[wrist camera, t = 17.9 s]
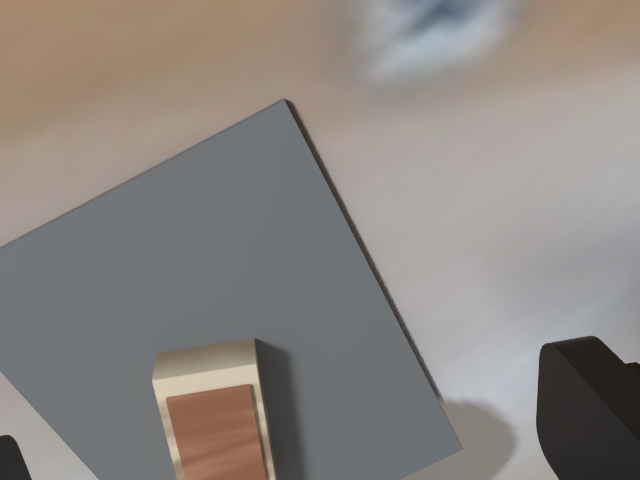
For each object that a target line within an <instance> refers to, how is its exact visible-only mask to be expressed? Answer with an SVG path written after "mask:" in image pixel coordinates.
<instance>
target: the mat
mask: <svg viewBox="0 0 640 480" xmlns="http://www.w3.org/2000/svg"><path fill="white" fill-rule="evenodd" d="M249 338H254V339H255V345H256V351H257V357H258V364H259V370H260V376H261V382H262V388H263V394H264V400H265V406H266V412H267V418H268V424H269V430H270V436H271V442H272V449H273V455H274V461H275V467H276V473H277V480H399V479H401V478H403V477H405V476H408V475H410V474H412V473H414V472H416V471H418V470H420V469H422V468H424V467H427V466H429V465H431V464H432V463H435V462H437V461H439V460H441V459H443V458H445V457H448V456H449V455H452V454H454V453H456V452H458V451H460V450H462V449H463V448H462V446H461V444H460V442H459V440H458V438H457V436H456V434H455V432H454V430H453V428H452V426H451V424H450V423H449V420H448V418H447V417H446V415H445V413H444V411H443V409H442V407H441V405H440V403H439V401H438V399H437V397H436V395H435V393H434V391H433V389H432V387H431V385H430V383H429V381H428V379H427V377H426V375H425V374H424V372H423V370H422V368H421V366H420V364H419V362H418V360H417V358H416V356H415V354H414V352H413V350H412V348H411V346H410V344H409V342H408V340H407V338H406V336H405V334H404V332H403V330H402V329H401V327H400V325H399V323H398V321H397V319H396V317H395V315H394V313H393V311H392V309H391V307H390V305H389V303H388V301H387V299H386V297H385V295H384V293H383V291H382V289H381V287H380V286H379V284H378V282H377V280H376V278H375V276H374V274H373V272H372V270H371V268H370V266H369V264H368V262H367V260H366V258H365V256H364V254H363V252H362V250H361V248H360V246H359V244H358V242H357V241H356V239H355V237H354V235H353V233H352V231H351V229H350V227H349V225H348V223H347V221H346V219H345V217H344V215H343V213H342V211H341V209H340V207H339V205H338V203H337V201H336V199H335V198H334V196H333V194H332V192H331V190H330V188H329V186H328V184H327V182H326V180H325V178H324V176H323V174H322V172H321V170H320V168H319V166H318V164H317V162H316V160H315V158H314V156H313V155H312V153H311V151H310V149H309V147H308V145H307V143H306V141H305V139H304V137H303V135H302V133H301V131H300V129H299V127H298V125H297V123H296V121H295V119H294V117H293V115H292V113H291V111H290V110H289V108H288V106H287V104H286V102H285V100H284V99H282V100H280V101H278V102H276V103H275V104H273V105H271V106H269V107H267V108H265V109H263V110H261V111H259V112H257V113H255V114H254V115H252V116H250V117H248V118H246V119H244V120H242V121H240V122H238V123H236V124H235V125H233V126H231V127H229V128H227V129H225V130H223V131H221V132H219V133H217V134H215V135H214V136H212V137H210V138H208V139H206V140H204V141H202V142H200V143H198V144H196V145H195V146H193V147H191V148H189V149H187V150H185V151H183V152H181V153H179V154H177V155H175V156H174V157H172V158H170V159H168V160H166V161H164V162H162V163H160V164H158V165H156V166H155V167H153V168H151V169H149V170H147V171H145V172H143V173H141V174H139V175H137V176H135V177H134V178H132V179H130V180H128V181H126V182H124V183H122V184H120V185H118V186H116V187H115V188H113V189H111V190H109V191H107V192H105V193H103V194H101V195H99V196H97V197H95V198H94V199H92V200H90V201H88V202H86V203H84V204H82V205H80V206H78V207H76V208H75V209H73V210H71V211H69V212H67V213H65V214H63V215H61V216H59V217H57V218H55V219H54V220H52V221H50V222H48V223H46V224H44V225H42V226H40V227H38V228H36V229H35V230H33V231H31V232H29V233H27V234H25V235H23V236H21V237H19V238H17V239H15V240H14V241H12V242H10V243H8V244H6V245H4V246H2V247H0V372H1V373H2V374H3V375H4V376H5V377H6V378H7V379H8V380H9V381H10V382H11V384H12V385H13V386H14V387H15V388H16V389H17V390H18V391H19V392H20V393H21V395H22V396H23V397H24V398H25V399H26V400H27V401H28V402H29V403H30V404H31V406H32V407H33V408H34V409H35V410H36V411H37V412H38V413H39V414H40V415H41V416H42V418H43V419H44V420H45V421H46V422H47V423H48V424H49V425H50V426H51V427H52V429H53V430H54V431H55V432H56V433H57V434H58V435H59V436H60V437H61V438H62V440H63V441H64V442H65V443H66V444H67V445H68V446H69V447H70V448H71V449H72V450H73V452H74V453H75V454H76V455H77V456H78V457H79V458H80V459H81V460H82V461H83V463H84V464H85V465H86V466H87V467H88V468H89V469H90V470H91V471H92V472H93V474H94V475H95V476H96V477H97V478H98V479H99V480H177V478H176V474H175V470H174V466H173V462H172V458H171V454H170V450H169V446H168V442H167V438H166V434H165V430H164V426H163V422H162V419H161V415H160V411H159V407H158V403H157V399H156V395H155V391H154V387H153V383H152V377H153V372H154V367H155V361H156V356H157V353H160V352H167V351H173V350H179V349H186V348H192V347H198V346H205V345H211V344H218V343H224V342H230V341H237V340H243V339H249Z"/></svg>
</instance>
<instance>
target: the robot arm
mask: <svg viewBox="0 0 640 480" xmlns="http://www.w3.org/2000/svg"><path fill="white" fill-rule="evenodd" d="M536 426H537V434H538V438H539V442H540V445H541V448H542V451H543V453H544V456H545V458H546V460H547V461H548V463H549V465H550V466H551V468H552V469H553V471H554V472H555V474H556V475H557V477H558V478H559V480H640V364H638V363H636V362H634V363H628V364H625V363H624V362H623V361H622V360H621V359H620V358H619V357H618V356H617V355H616V354H615V353H613V352H612V351H611V350H610V349H609V348H608V347H607V346H606V345H605V344H604V343H603V342H602V341H601V340H600V339H599V338H597V337H595V336H587V337H581V338H575V339H569V340H564V341H558V342H552V343H546V344H544V345H543V346H542V348H541V351H540V357H539V376H538V395H537V415H536ZM0 480H32V479H31V477H30V474H29V472H28V469H27V466H26V464H25V461H24V459H23V456H22V454H21V451H20V449H19V446H18V444H17V442H16V441H15V439H14V438H13V437H11V436H10V435H3V436H0Z"/></svg>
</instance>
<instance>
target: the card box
mask: <svg viewBox="0 0 640 480" xmlns="http://www.w3.org/2000/svg"><path fill="white" fill-rule="evenodd" d="M152 383H153V387H154V391H155V395H156V399H157V403H158V407H159V411H160V415H161V419H162V422H163V426H164V430H165V434H166V438H167V442H168V446H169V450H170V454H171V458H172V462H173V466H174V470H175V474H176V478H177V480H277V473H276V467H275V461H274V455H273V449H272V442H271V436H270V430H269V424H268V418H267V412H266V406H265V400H264V394H263V388H262V382H261V376H260V370H259V364H258V357H257V351H256V345H255V339H254V338H249V339H243V340H237V341H230V342H224V343H218V344H211V345H205V346H198V347H192V348H186V349H179V350H173V351H167V352H160V353H157V356H156V361H155V367H154V372H153V377H152Z"/></svg>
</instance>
